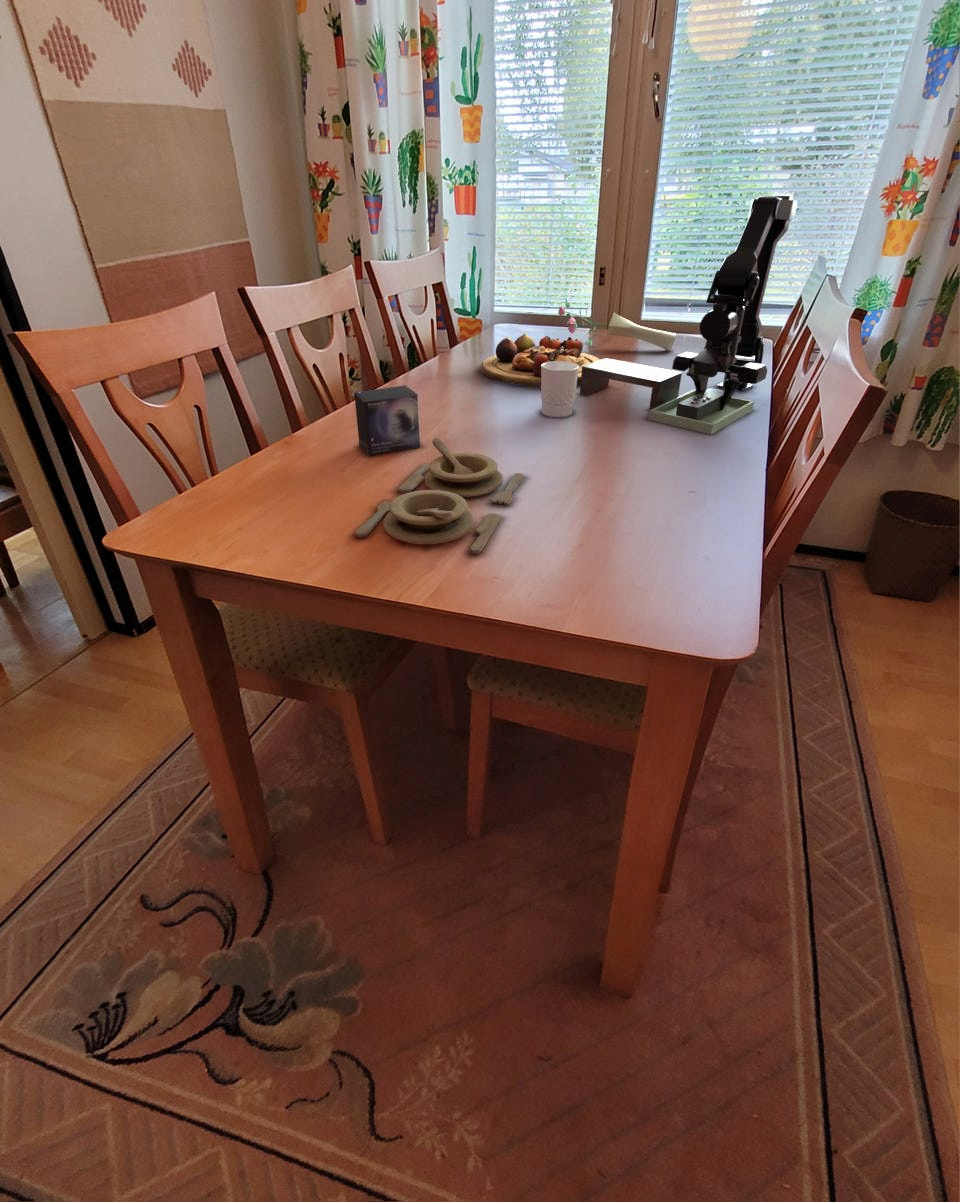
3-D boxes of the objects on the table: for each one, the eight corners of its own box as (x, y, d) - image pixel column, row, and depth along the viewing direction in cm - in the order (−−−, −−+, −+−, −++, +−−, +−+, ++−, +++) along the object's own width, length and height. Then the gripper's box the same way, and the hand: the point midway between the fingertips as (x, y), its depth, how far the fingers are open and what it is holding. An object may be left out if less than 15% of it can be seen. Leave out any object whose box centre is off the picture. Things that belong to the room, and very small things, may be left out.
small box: (369, 457, 121) (363, 401, 115) (358, 446, 125) (352, 391, 119) (421, 447, 125) (418, 392, 119) (409, 437, 129) (405, 384, 123)
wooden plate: (591, 394, 153) (594, 358, 148) (464, 383, 162) (463, 348, 157) (613, 361, 178) (616, 329, 173) (502, 353, 187) (502, 322, 182)
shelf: (602, 385, 159) (605, 358, 155) (677, 401, 148) (682, 372, 144) (579, 394, 153) (581, 366, 149) (655, 411, 142) (659, 381, 138)
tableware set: (478, 557, 90) (478, 518, 86) (349, 538, 94) (344, 501, 91) (527, 475, 113) (528, 442, 110) (422, 463, 118) (420, 431, 115)
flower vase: (659, 379, 190) (546, 345, 194) (666, 357, 197) (557, 324, 201) (674, 343, 181) (554, 308, 184) (680, 321, 188) (565, 287, 191)
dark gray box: (707, 399, 145) (710, 386, 143) (727, 403, 142) (730, 390, 141) (675, 415, 136) (677, 401, 134) (696, 420, 133) (698, 406, 132)
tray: (692, 398, 150) (693, 389, 149) (752, 410, 142) (754, 401, 141) (648, 419, 138) (649, 410, 136) (711, 434, 130) (713, 424, 128)
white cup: (579, 409, 143) (583, 363, 138) (568, 420, 137) (571, 372, 132) (546, 405, 146) (548, 359, 140) (533, 415, 140) (535, 368, 135)
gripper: (665, 332, 134) (654, 407, 143) (754, 346, 123) (736, 426, 132) (690, 324, 141) (678, 396, 149) (776, 336, 130) (758, 413, 139)
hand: (710, 407), depth 142 cm, fingers closed on dark gray box, 5 cm apart
